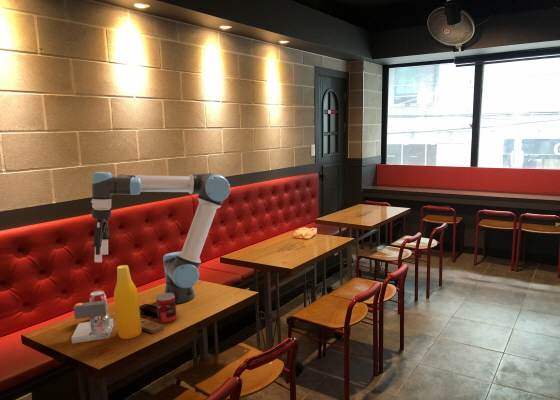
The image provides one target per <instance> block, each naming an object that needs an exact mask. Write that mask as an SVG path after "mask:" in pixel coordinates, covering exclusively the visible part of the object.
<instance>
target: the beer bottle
mask: <svg viewBox="0 0 560 400" xmlns="http://www.w3.org/2000/svg"><path fill="white" fill-rule="evenodd" d="M138 294H139V293H138V289H137V286H136V285H135V283H134V282H133V280H132V277H131V273H130V268H129V265H127V264H124V265H123V264H122V265H118V266H117V268H116V284H115V287H114V291H113V299H114V300H113V301H114V307H115V316H116V317H115V318H116V323H117V324H116V325H117V334H118V337H119V338H120V339H122V340H130V339H135V338H137V337H139V336H140V335H141V334H142V329H143V328H142V322H141V313H140V303H139V295H138Z"/></svg>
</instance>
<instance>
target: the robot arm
mask: <svg viewBox="0 0 560 400" xmlns="http://www.w3.org/2000/svg"><path fill="white" fill-rule="evenodd" d="M141 192H142V193H144V192H149V193H151V192H153V193H154V192H155V193H161V192H162V193H163V192H164V193H167V192H168V193H189V195H198V196H197V198H196V199H197V201H198V205H197V208H196V210H195V214H194V216H193V219H192V222H191V225H190V227H189V230H188V232H187V235H186V238H185V241H184V244H183V247H182V248H181V250H180V251H174V252H170V253H166V254H164V255H163V257H162V259H163V260H162V262H163V269H164V278H165V279H164V280H165V287H164V292H163V293H173V294H174V296H175V304H182V303H186V302H190V301H192V300H193V299H194V298H196V297H195V296H196V295H195V293H196V292H195V289H194V287H193V286H195V285H196V284H197V282H198V281H199V278H200V271H199V269H200V266H201V263H202V261H201V258H200V256H201V253H202V251H203V247H204V245H205V243H206V239H207V238H208V235H209V232H210V229H211V226H212V223H213V221H214V218H215V215H216V213H217V209H220V208H221V207H222V205H223V202H224V201H225V200H226V199H227V198H228V197H229V195H230V193H231V184H230V183H229V180H228V179H226V177H224V176H222V175H221V174H217V173H216V174H215V173H211V172H209V173H208V172H207V173H194V174H188V175H187V176H185V175H138V174H135V175H133V174H118V175H116V176H113V174H112V173H111V172H109V171H95V172H93V173H92V180H91V194H92V196H91V198H92V199H91V200H90V203H92V204H91V207H92V211H91V217H92V218H93V219H96V220H97V221H96V222H95V223H94V226H95V227H94V235H93V236H94V237H93V244H92V245H91V246H92V247H93V248H94V263H102V262H103V255H109V240H110V239H111V237H110V234H109V222H108V220H109V219H111V218H112V210H111V209H112V195H113V196H117V195H121V196H122V195H125V196H128V195H130V196H137V195H140V194H141Z"/></svg>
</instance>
